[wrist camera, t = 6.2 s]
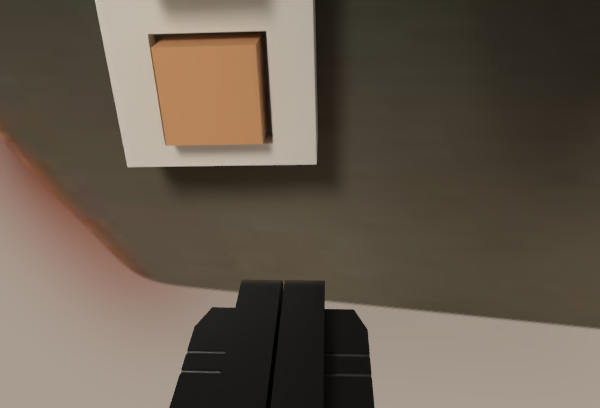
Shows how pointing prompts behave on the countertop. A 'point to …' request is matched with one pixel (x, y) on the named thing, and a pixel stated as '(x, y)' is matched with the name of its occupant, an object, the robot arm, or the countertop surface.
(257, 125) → the terracotta button
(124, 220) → the countertop surface
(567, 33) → the countertop surface
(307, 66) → the white button panel
